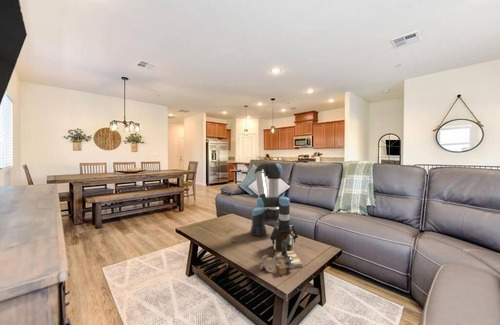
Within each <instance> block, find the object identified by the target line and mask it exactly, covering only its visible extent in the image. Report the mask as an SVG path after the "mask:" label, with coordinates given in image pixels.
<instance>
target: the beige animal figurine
mask: <svg viewBox="0 0 500 325" xmlns="http://www.w3.org/2000/svg"><path fill="white" fill-rule="evenodd" d="M261 261H262V263H261V264H260V266H259V271H261V270H263V269H265V271H266V272H269V273H272V272H274V271H277V264H280V262H279V261H278V259H277V255H275V254H274V256H273V257H268V254H266V255H265V254H264V255H263V256H262V257H261Z"/></svg>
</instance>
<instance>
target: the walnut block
mask: <svg viewBox="0 0 500 325" xmlns="http://www.w3.org/2000/svg"><path fill="white" fill-rule="evenodd" d="M276 273H278V275H279V276H281V275H285V274H287V268H286V266H285V265H284V264H283V263H282V264H280V263H279V264H277V269H276Z"/></svg>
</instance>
